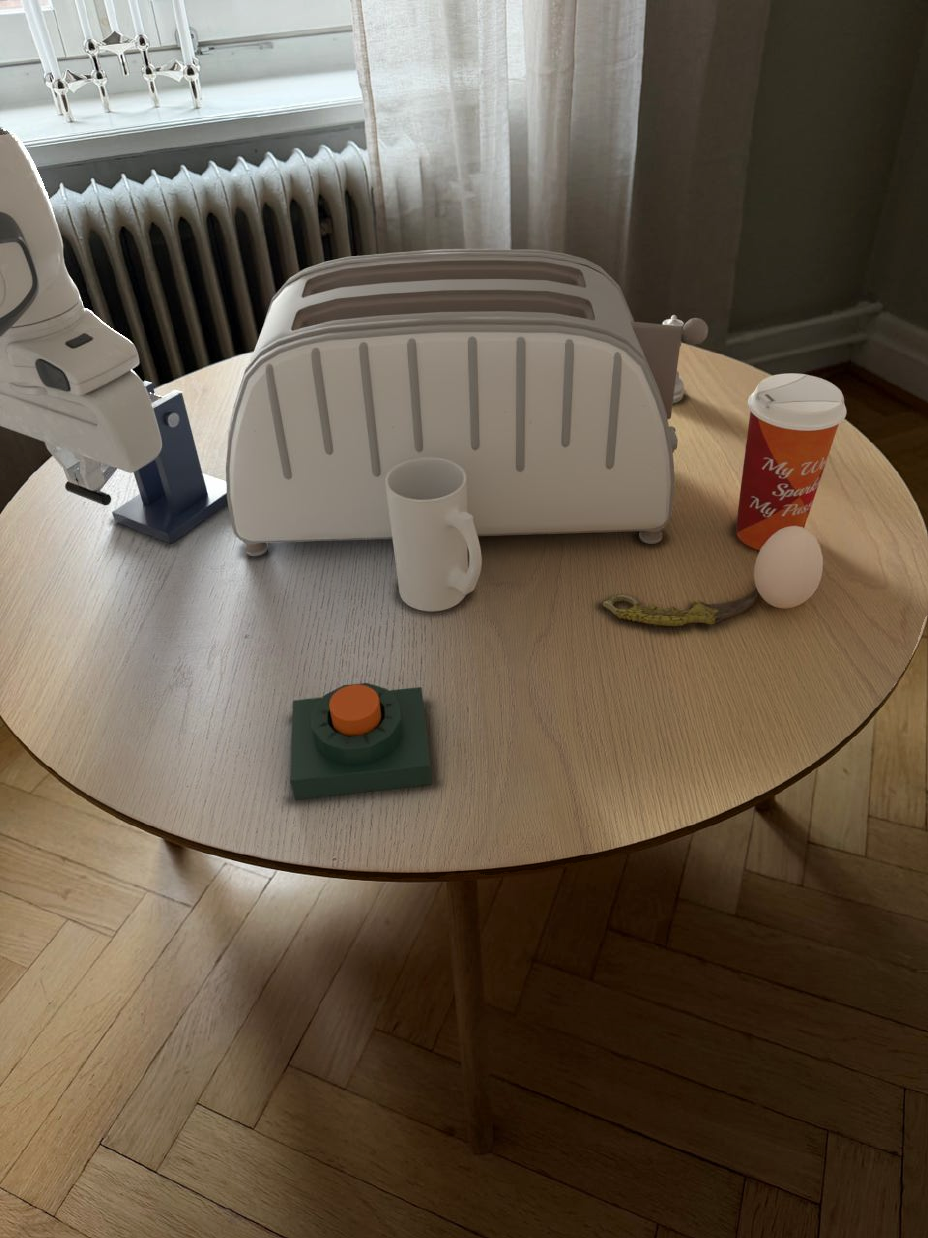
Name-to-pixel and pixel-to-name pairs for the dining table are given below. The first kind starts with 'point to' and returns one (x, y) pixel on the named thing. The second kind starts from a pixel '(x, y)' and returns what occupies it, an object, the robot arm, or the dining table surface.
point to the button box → (359, 747)
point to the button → (355, 710)
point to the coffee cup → (785, 452)
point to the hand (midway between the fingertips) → (87, 483)
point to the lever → (107, 473)
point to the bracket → (172, 479)
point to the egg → (788, 567)
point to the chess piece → (678, 383)
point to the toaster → (455, 397)
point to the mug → (432, 533)
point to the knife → (677, 617)
